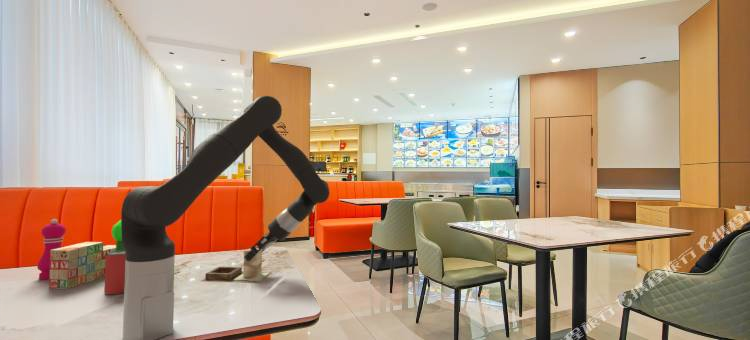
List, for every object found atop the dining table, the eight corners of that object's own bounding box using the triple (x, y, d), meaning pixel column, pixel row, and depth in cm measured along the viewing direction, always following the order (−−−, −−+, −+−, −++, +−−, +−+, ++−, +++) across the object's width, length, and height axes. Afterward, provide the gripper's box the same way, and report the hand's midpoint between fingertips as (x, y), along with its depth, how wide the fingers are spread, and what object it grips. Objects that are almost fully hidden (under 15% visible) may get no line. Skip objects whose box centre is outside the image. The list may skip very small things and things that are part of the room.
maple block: (261, 274, 114) (262, 248, 114) (256, 278, 109) (256, 251, 110) (249, 273, 114) (249, 248, 114) (243, 277, 110) (244, 251, 110)
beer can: (99, 293, 97) (101, 253, 97) (125, 286, 103) (126, 248, 103) (110, 297, 94) (112, 255, 94) (136, 290, 100) (137, 251, 100)
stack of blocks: (107, 269, 122) (109, 236, 122) (123, 269, 121) (125, 237, 122) (48, 288, 100) (49, 249, 100) (67, 289, 100) (69, 249, 100)
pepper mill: (43, 275, 113) (45, 218, 114) (70, 272, 116) (72, 217, 117) (32, 281, 107) (34, 220, 107) (60, 278, 110) (63, 219, 110)
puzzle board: (272, 274, 117) (272, 266, 117) (259, 285, 105) (259, 276, 105) (219, 273, 118) (219, 265, 118) (200, 284, 106) (200, 274, 106)
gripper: (284, 213, 119) (253, 244, 119) (270, 218, 105) (234, 253, 105) (298, 228, 119) (266, 258, 119) (286, 235, 104) (250, 269, 105)
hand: (251, 256), depth 112 cm, fingers open, 8 cm apart
